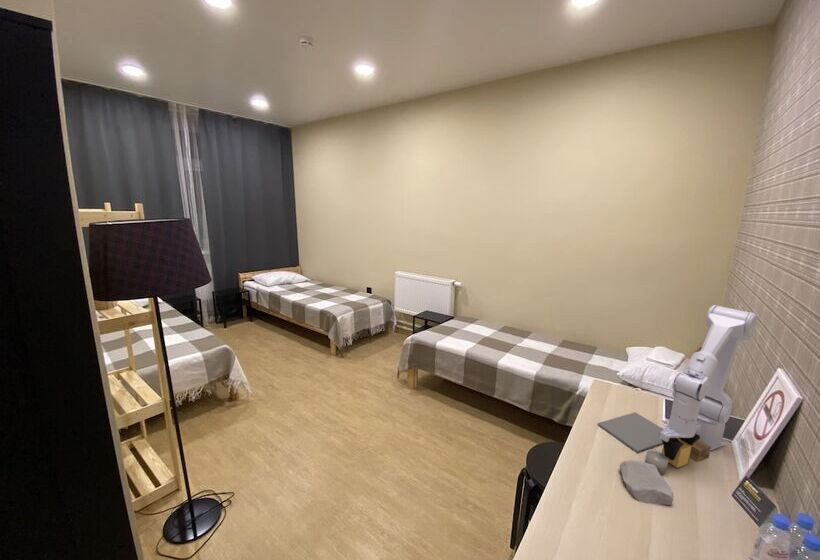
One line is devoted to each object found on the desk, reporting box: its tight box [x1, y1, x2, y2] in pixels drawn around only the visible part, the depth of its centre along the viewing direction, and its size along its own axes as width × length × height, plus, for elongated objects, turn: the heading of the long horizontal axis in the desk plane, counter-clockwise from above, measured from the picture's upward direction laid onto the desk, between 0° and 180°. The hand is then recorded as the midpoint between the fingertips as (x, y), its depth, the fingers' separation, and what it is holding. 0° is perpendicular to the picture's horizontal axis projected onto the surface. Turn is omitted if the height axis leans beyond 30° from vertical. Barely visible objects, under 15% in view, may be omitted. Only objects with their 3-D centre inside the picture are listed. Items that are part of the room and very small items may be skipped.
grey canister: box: [644, 449, 669, 476], centre depth 95 cm, size 5×5×4 cm
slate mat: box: [597, 412, 664, 454], centre depth 111 cm, size 18×14×1 cm
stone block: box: [619, 459, 674, 506], centre depth 90 cm, size 12×5×10 cm
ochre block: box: [661, 438, 691, 469], centre depth 98 cm, size 4×4×6 cm
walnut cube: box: [689, 440, 712, 463], centre depth 101 cm, size 5×5×4 cm
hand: (675, 455), depth 98 cm, fingers closed on ochre block, 4 cm apart
